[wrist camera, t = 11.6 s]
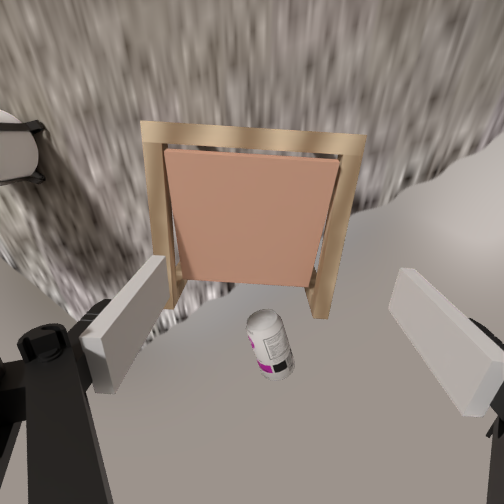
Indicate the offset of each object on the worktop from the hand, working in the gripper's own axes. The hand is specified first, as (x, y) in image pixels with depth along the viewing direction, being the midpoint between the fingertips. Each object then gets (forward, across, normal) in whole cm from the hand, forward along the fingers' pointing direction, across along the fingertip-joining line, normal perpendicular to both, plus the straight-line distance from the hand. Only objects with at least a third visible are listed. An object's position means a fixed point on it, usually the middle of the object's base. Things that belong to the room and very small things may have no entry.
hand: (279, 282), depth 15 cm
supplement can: (+34, -5, +44) cm, 56 cm away
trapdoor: (+20, +3, +3) cm, 21 cm away
